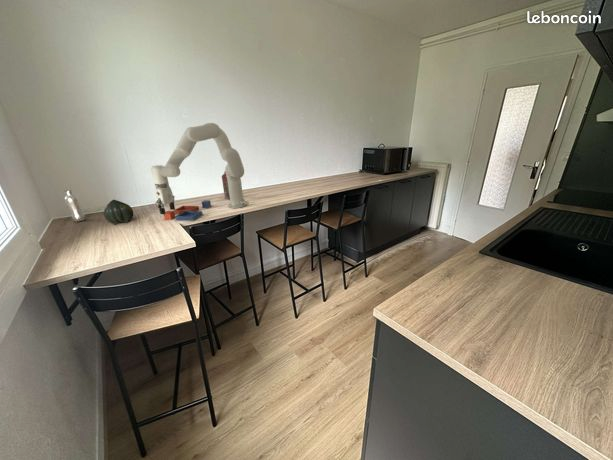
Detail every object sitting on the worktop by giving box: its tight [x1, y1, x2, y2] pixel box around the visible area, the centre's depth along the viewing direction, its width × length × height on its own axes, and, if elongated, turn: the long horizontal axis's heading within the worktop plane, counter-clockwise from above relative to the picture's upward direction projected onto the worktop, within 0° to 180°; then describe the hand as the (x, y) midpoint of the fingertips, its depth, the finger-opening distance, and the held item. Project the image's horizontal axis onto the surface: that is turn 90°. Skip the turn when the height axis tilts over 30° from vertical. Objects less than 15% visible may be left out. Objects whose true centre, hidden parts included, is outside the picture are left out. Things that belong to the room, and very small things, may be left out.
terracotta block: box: [163, 210, 176, 221], centre depth 164 cm, size 4×4×4 cm
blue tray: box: [175, 210, 204, 222], centre depth 166 cm, size 12×11×2 cm
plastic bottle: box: [63, 189, 86, 223], centre depth 159 cm, size 6×7×20 cm
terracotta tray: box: [173, 205, 200, 215], centre depth 177 cm, size 12×11×2 cm
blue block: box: [201, 199, 212, 209], centre depth 186 cm, size 4×4×4 cm
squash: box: [103, 199, 134, 225], centre depth 158 cm, size 14×15×15 cm
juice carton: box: [221, 170, 230, 201], centre depth 205 cm, size 7×7×22 cm
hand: (168, 211), depth 163 cm, fingers open, 9 cm apart
